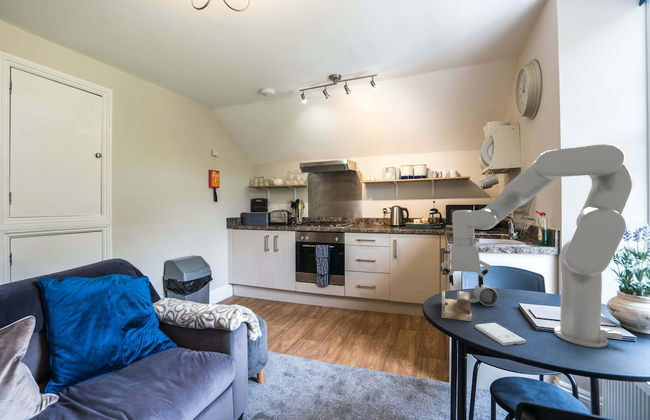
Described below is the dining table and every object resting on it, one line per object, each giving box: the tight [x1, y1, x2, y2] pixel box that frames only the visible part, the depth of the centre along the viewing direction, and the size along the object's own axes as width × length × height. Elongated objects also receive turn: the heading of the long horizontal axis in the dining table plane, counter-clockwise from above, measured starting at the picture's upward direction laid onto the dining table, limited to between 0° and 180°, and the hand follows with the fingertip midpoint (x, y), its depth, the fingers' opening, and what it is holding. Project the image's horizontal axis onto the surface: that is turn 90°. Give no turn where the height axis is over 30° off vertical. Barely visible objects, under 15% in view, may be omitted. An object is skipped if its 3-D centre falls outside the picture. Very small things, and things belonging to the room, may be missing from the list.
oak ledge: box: [441, 290, 473, 322], centre depth 111 cm, size 10×16×5 cm, turn 157°
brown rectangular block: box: [456, 290, 471, 314], centre depth 109 cm, size 4×11×5 cm, turn 155°
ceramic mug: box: [469, 284, 499, 307], centre depth 121 cm, size 11×8×8 cm
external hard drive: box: [474, 322, 527, 346], centre depth 92 cm, size 2×8×12 cm
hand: (466, 285), depth 109 cm, fingers open, 9 cm apart
